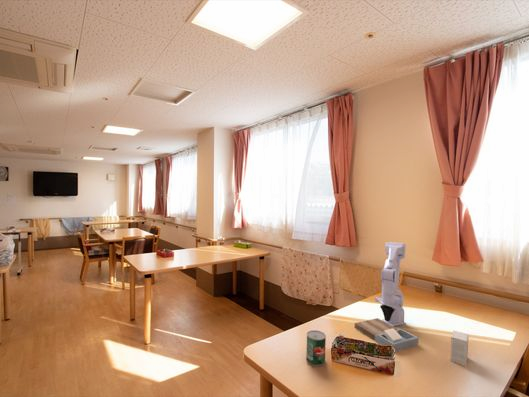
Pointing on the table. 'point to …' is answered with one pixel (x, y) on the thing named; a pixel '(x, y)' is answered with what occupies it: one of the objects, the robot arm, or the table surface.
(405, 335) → the box
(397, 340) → the tile
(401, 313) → the robot arm
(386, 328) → the board
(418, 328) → the table surface
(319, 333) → the canned tomato
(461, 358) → the small box
